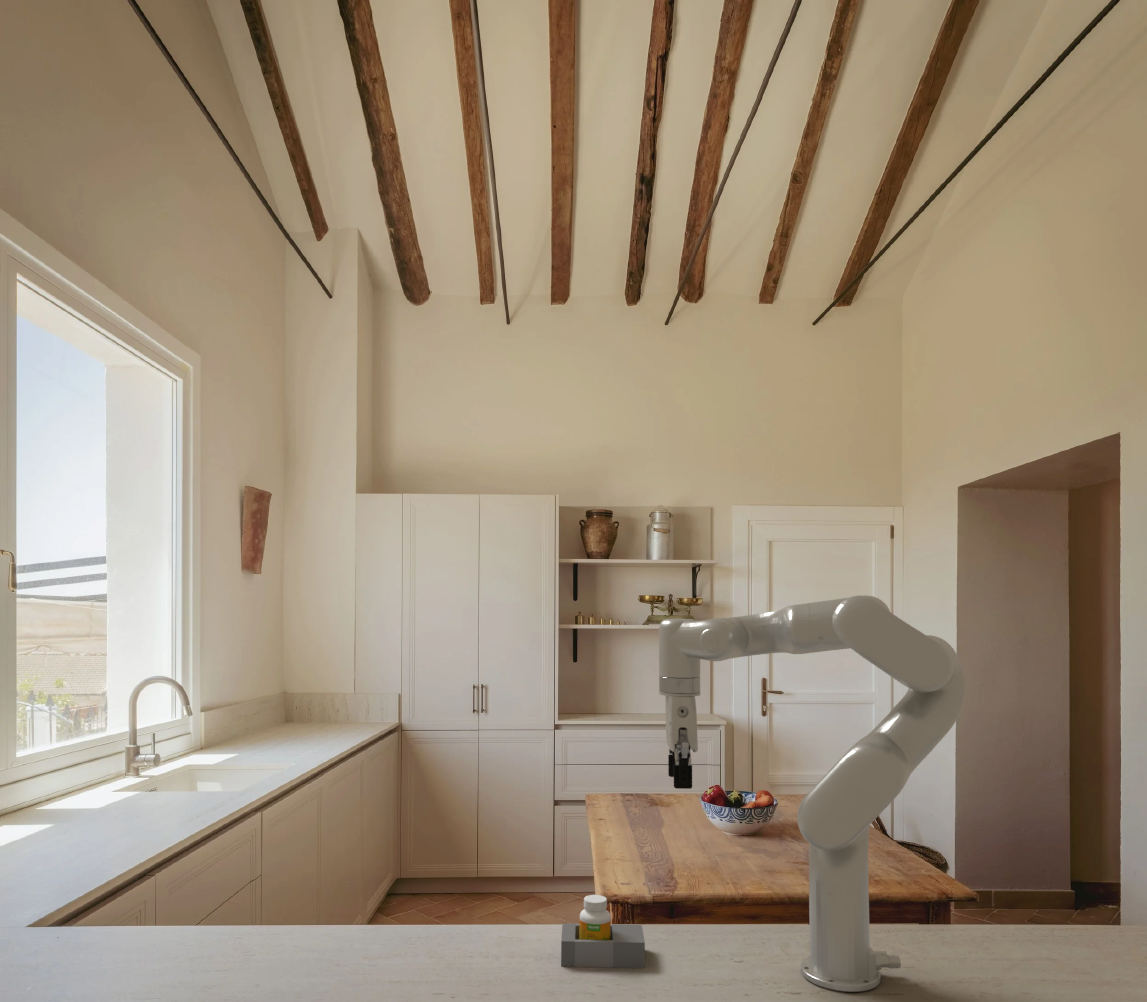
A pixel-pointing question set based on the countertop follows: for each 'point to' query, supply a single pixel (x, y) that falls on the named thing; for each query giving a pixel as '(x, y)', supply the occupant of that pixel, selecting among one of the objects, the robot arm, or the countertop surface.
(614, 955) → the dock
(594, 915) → the supplement bottle
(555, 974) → the countertop surface
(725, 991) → the countertop surface
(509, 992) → the countertop surface
